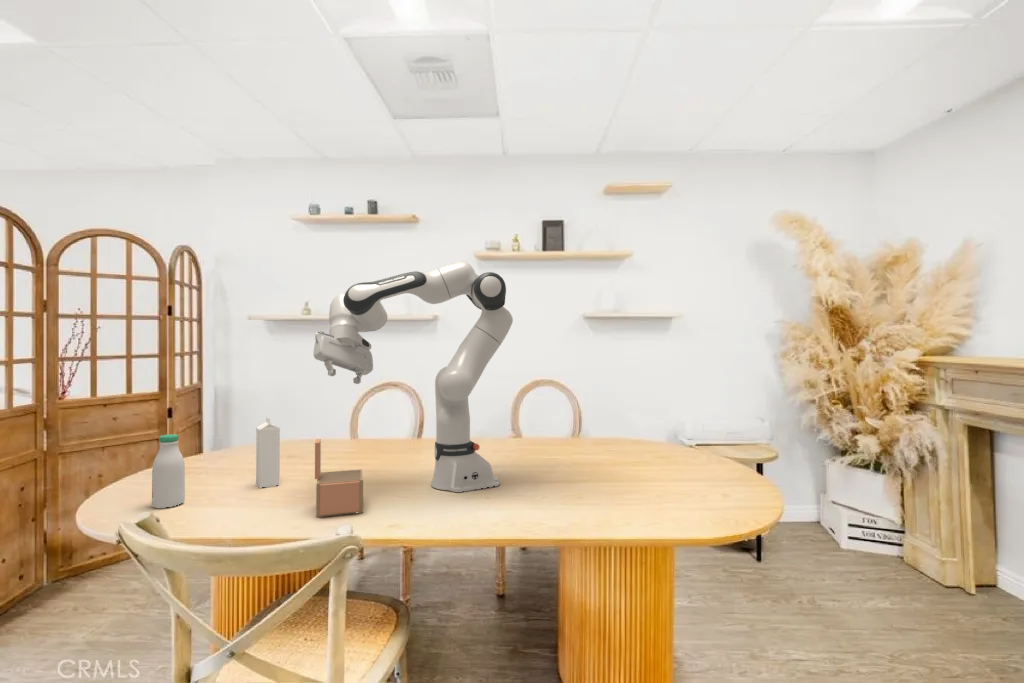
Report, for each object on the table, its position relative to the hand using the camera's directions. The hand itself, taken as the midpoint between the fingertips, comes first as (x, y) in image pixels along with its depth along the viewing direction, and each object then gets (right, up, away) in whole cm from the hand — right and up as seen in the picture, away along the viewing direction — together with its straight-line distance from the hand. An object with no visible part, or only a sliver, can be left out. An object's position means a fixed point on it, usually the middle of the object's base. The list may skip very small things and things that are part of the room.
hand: (344, 379), depth 150 cm
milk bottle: (-48, -36, -8) cm, 60 cm away
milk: (-29, -36, +12) cm, 48 cm away
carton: (+2, -36, -11) cm, 37 cm away
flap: (-3, -26, -12) cm, 29 cm away
